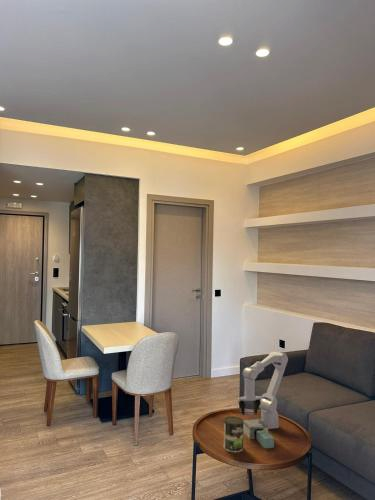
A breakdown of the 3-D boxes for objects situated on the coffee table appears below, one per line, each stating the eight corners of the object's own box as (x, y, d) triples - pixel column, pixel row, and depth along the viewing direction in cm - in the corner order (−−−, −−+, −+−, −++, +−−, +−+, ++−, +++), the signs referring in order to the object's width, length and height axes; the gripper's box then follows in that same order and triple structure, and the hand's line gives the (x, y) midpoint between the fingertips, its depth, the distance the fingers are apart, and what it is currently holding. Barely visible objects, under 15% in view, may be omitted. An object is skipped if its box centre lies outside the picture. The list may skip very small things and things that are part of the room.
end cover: (264, 438, 202) (264, 429, 202) (273, 447, 192) (273, 437, 192) (255, 439, 201) (255, 430, 201) (264, 448, 190) (264, 438, 191)
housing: (259, 429, 214) (259, 418, 214) (267, 437, 204) (268, 425, 204) (242, 431, 211) (242, 420, 211) (249, 439, 201) (249, 427, 202)
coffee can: (247, 450, 189) (247, 422, 189) (229, 454, 184) (230, 425, 185) (236, 441, 198) (237, 415, 199) (219, 445, 194) (220, 417, 195)
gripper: (257, 386, 217) (257, 410, 216) (235, 388, 213) (234, 412, 212) (263, 390, 210) (263, 414, 209) (240, 392, 206) (239, 416, 205)
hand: (249, 413), depth 210 cm, fingers open, 7 cm apart
